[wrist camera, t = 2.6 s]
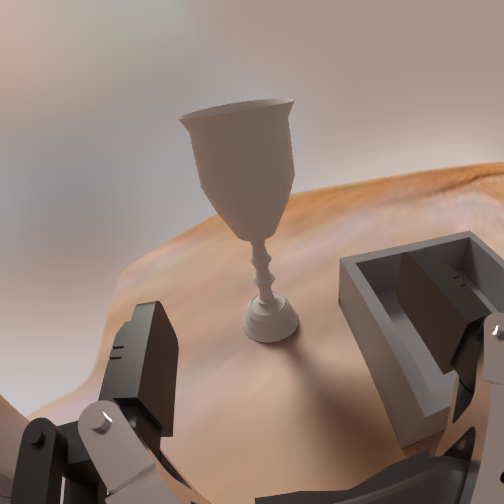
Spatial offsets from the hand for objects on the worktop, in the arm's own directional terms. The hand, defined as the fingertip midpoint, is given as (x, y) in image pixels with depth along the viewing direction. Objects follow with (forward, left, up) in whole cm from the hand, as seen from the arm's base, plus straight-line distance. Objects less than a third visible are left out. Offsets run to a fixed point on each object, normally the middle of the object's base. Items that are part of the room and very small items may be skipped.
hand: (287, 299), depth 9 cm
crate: (+14, +5, -13) cm, 20 cm away
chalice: (0, +12, -13) cm, 18 cm away
